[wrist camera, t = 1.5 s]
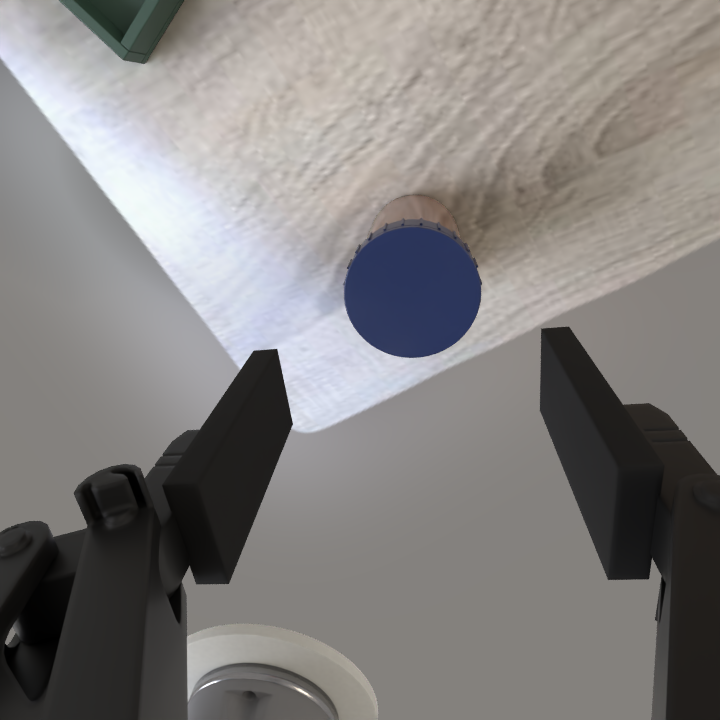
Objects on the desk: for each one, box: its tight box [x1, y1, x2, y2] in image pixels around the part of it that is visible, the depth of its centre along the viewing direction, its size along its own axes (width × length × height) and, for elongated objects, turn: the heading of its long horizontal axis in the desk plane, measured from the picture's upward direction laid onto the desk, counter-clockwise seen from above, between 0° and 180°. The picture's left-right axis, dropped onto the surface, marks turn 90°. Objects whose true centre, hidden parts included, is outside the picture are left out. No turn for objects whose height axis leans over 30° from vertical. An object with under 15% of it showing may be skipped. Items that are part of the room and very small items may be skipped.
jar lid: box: [344, 218, 482, 358], centre depth 24 cm, size 6×6×2 cm
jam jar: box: [367, 195, 461, 239], centre depth 29 cm, size 6×6×11 cm
